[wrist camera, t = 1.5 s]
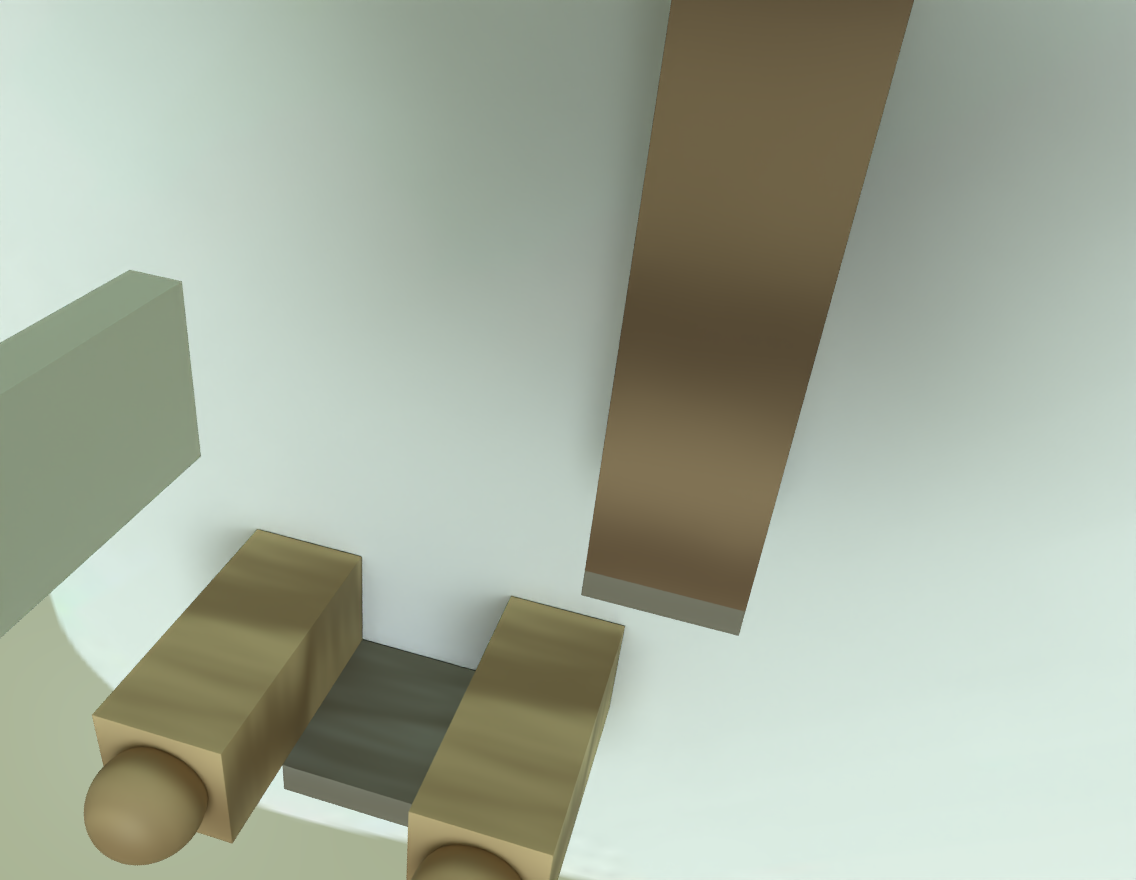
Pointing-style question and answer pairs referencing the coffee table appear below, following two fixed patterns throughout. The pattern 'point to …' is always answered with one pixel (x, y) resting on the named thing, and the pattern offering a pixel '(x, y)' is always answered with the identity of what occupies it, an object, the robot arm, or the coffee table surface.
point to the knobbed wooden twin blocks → (352, 722)
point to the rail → (731, 288)
